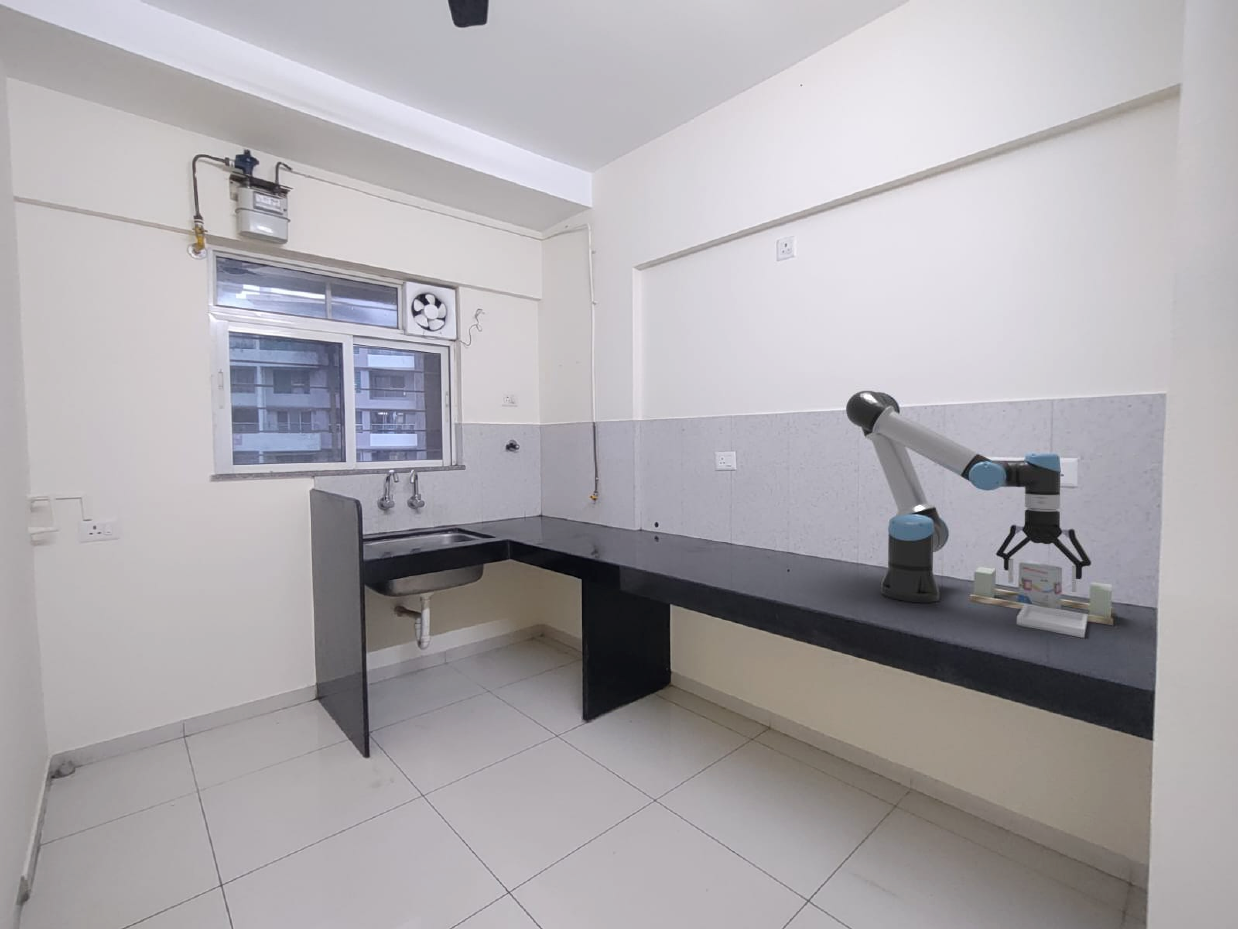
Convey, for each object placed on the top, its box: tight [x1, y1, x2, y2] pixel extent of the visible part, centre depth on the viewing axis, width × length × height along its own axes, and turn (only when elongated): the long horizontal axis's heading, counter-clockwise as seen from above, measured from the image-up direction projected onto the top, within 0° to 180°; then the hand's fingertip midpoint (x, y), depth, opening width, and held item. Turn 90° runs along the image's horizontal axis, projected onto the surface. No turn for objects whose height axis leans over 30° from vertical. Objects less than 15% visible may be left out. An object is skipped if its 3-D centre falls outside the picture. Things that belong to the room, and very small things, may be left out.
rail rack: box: [969, 588, 1114, 626], centre depth 145 cm, size 30×13×2 cm, turn 46°
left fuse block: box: [973, 566, 997, 598], centre depth 154 cm, size 4×8×8 cm, turn 136°
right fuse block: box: [1088, 581, 1113, 618], centre depth 137 cm, size 4×8×8 cm, turn 136°
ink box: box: [1017, 560, 1063, 610], centre depth 145 cm, size 8×5×12 cm, turn 21°
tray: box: [1016, 604, 1089, 639], centre depth 132 cm, size 13×15×2 cm
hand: (1041, 586), depth 145 cm, fingers open, 13 cm apart
